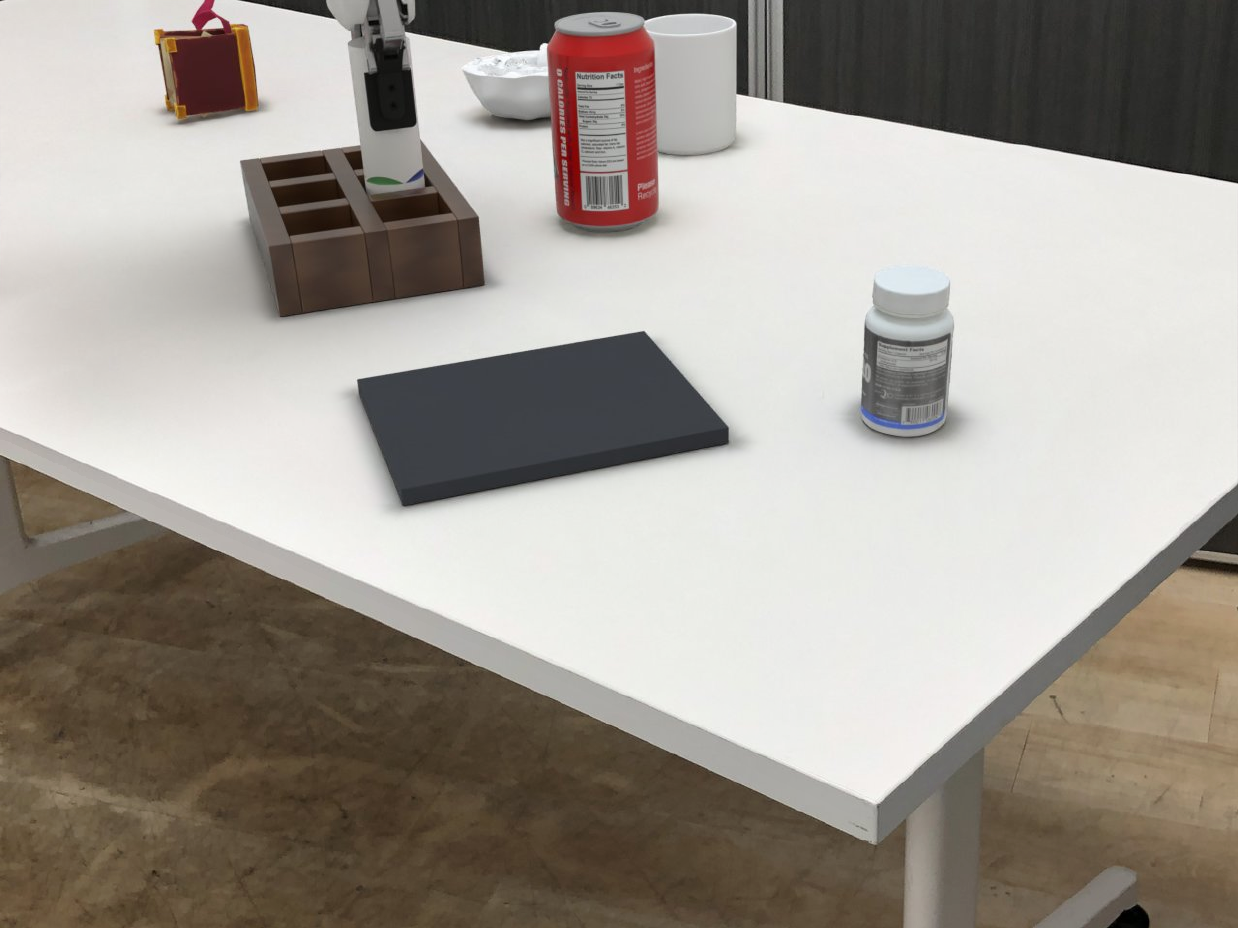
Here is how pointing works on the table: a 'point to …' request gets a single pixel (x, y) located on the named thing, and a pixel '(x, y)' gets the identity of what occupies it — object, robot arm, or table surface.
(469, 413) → the mat
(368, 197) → the box
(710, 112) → the mug
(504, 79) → the cell model
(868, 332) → the pill bottle
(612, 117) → the soda can
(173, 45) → the book monster
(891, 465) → the table surface
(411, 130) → the tube
